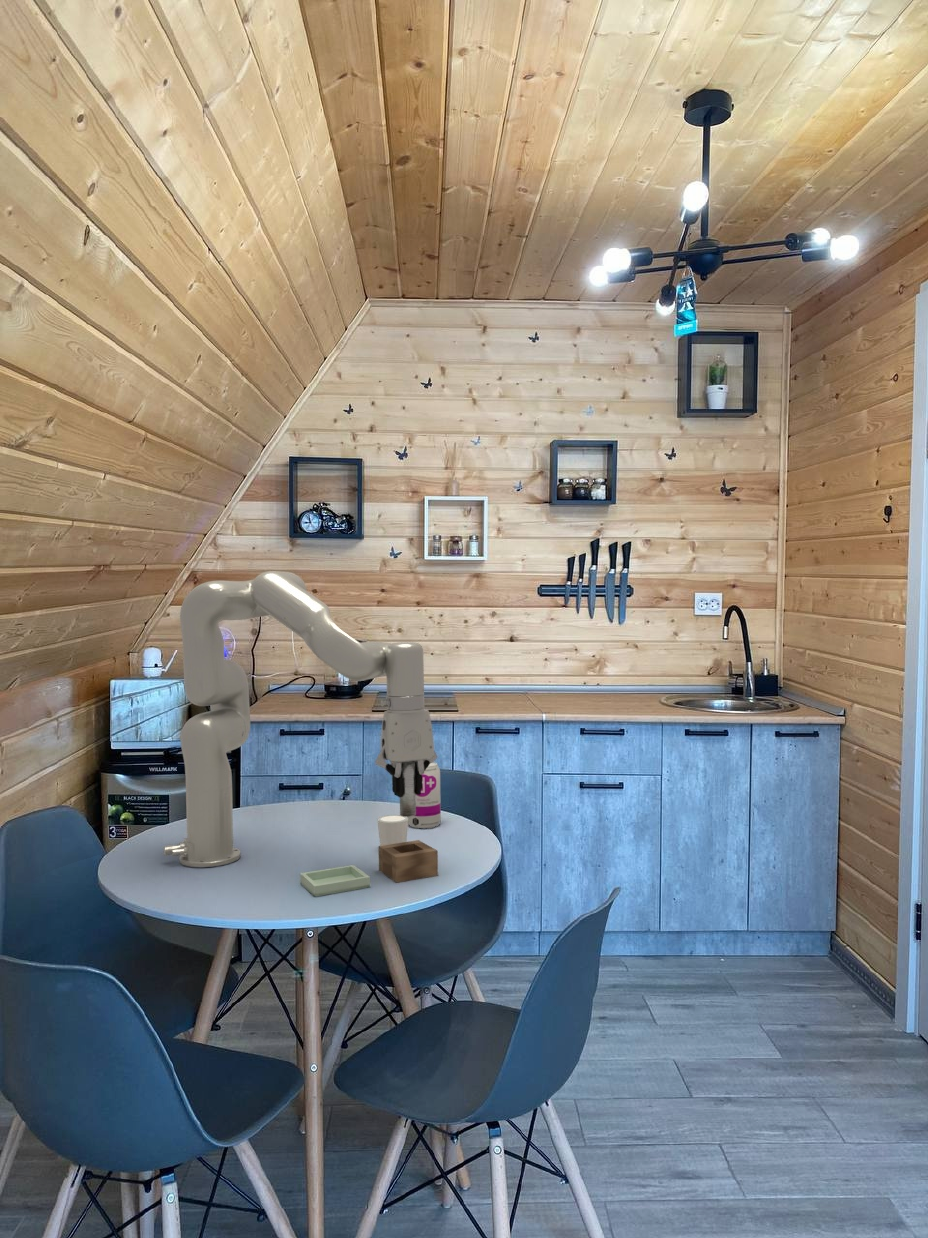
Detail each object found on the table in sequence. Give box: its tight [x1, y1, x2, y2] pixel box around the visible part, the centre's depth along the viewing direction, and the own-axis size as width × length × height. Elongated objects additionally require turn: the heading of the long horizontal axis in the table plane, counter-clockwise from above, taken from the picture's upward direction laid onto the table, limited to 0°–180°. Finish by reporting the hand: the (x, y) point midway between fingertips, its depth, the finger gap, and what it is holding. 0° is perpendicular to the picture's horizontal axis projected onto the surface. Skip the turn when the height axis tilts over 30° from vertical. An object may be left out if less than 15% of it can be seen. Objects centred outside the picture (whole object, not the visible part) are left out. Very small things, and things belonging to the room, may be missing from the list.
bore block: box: [378, 839, 439, 884], centre depth 177 cm, size 9×9×5 cm
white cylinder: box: [376, 814, 409, 846], centre depth 194 cm, size 7×7×7 cm
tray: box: [299, 864, 371, 898], centre depth 170 cm, size 11×9×2 cm
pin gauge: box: [399, 761, 416, 817], centre depth 177 cm, size 3×3×12 cm
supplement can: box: [408, 761, 442, 829], centre depth 215 cm, size 8×8×15 cm
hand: (407, 794), depth 177 cm, fingers closed on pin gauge, 3 cm apart
